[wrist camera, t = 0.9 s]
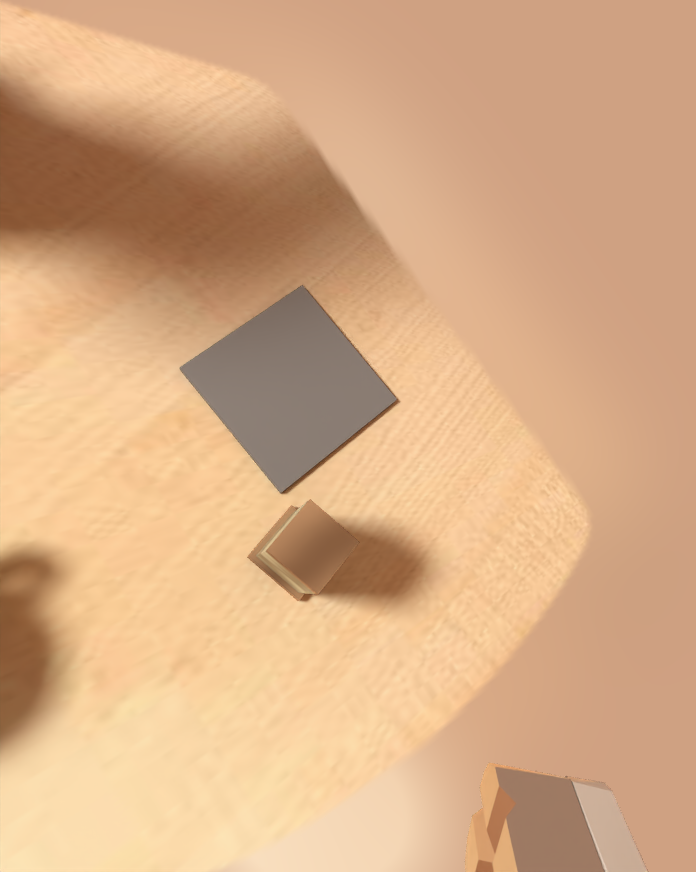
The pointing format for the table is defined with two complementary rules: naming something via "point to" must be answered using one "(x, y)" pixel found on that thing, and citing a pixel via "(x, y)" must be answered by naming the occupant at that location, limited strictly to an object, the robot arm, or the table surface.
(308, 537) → the banded square pillar
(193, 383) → the mat
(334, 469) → the table surface
